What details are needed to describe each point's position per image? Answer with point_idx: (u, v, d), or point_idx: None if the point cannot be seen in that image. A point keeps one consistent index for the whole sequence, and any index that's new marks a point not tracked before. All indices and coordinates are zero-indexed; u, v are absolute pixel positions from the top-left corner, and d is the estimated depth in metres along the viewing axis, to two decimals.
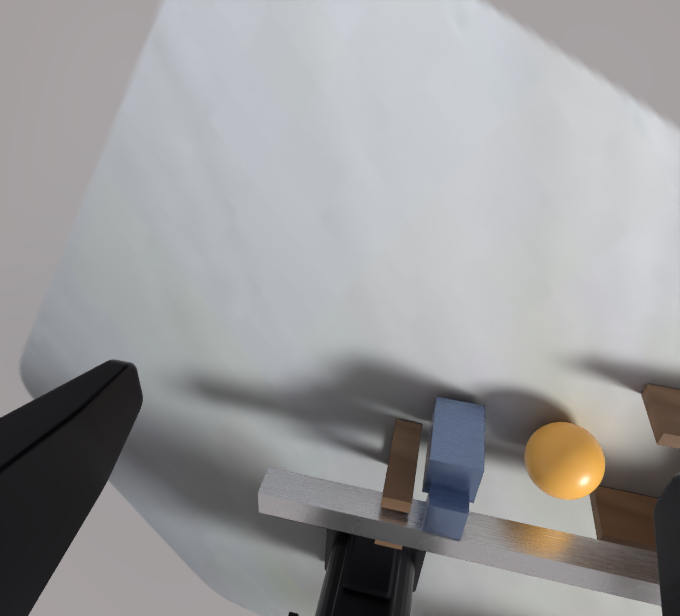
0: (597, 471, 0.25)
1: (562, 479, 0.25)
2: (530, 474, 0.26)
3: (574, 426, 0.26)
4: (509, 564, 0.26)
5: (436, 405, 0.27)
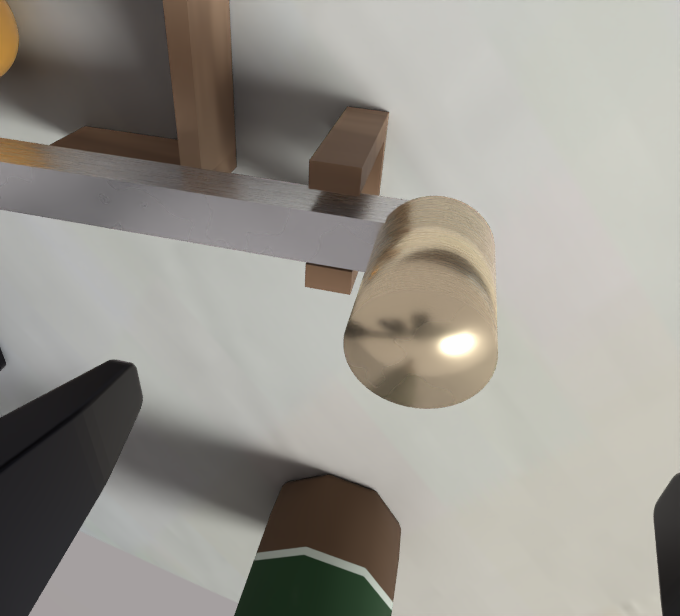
0: None
1: None
2: None
3: None
4: None
5: None
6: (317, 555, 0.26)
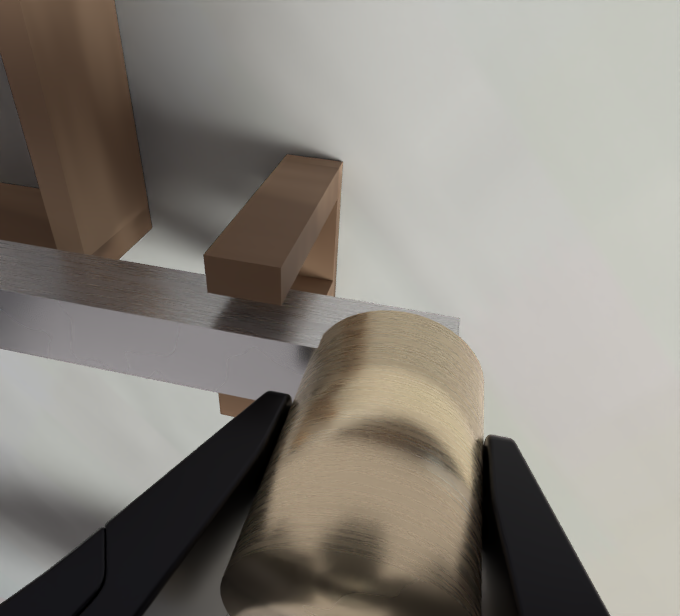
0: None
1: None
2: None
3: None
4: None
5: None
6: None
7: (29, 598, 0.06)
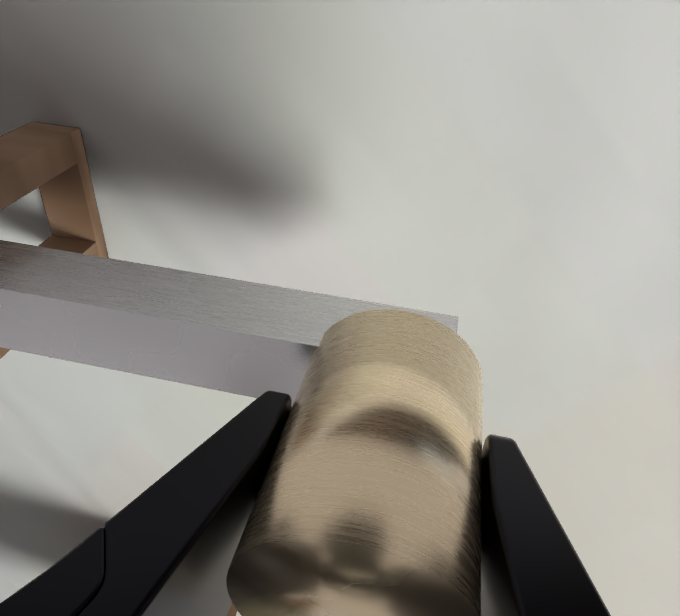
0: None
1: None
2: None
3: None
4: None
5: None
6: None
7: (29, 598, 0.06)
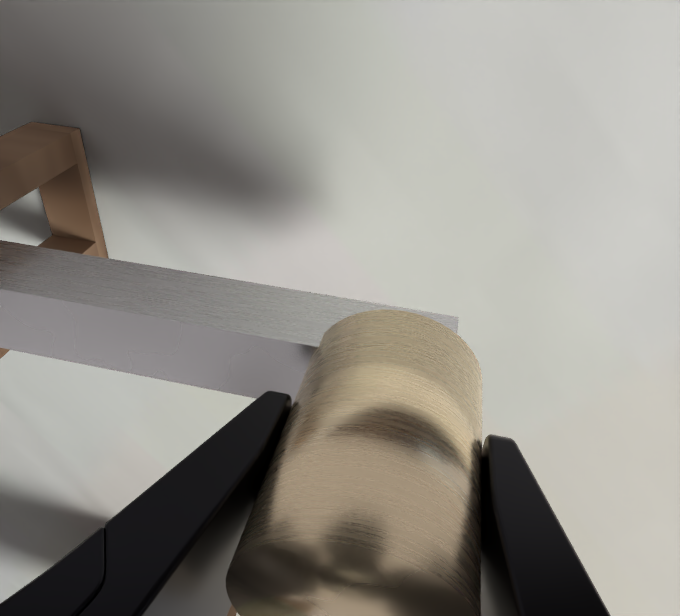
0: None
1: None
2: None
3: None
4: None
5: None
6: None
7: (29, 598, 0.06)
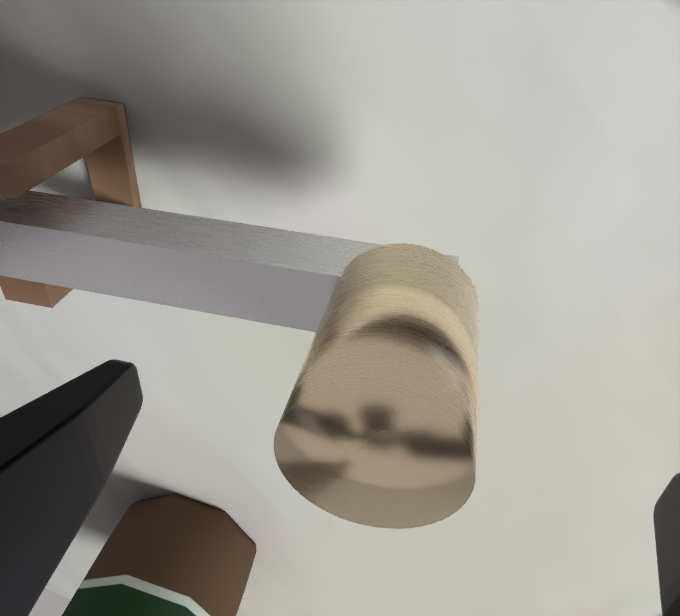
0: None
1: None
2: None
3: None
4: None
5: None
6: (137, 584, 0.24)
7: None
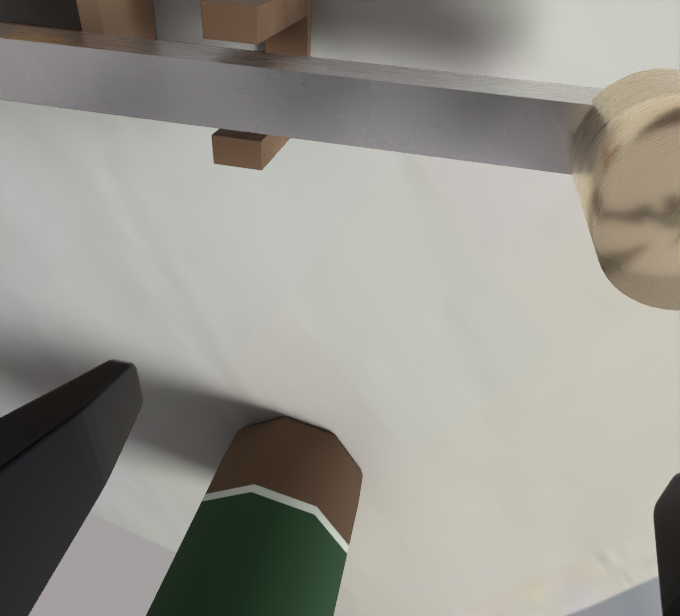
0: None
1: None
2: None
3: None
4: None
5: None
6: (266, 493, 0.25)
7: None
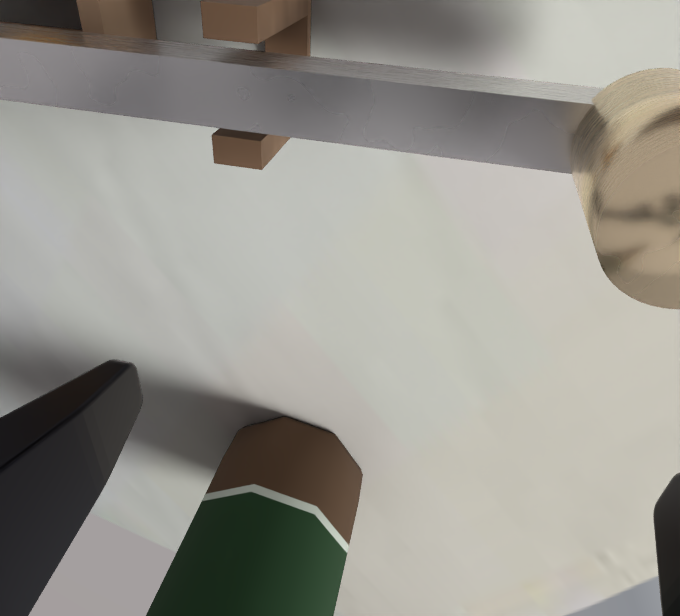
0: None
1: None
2: None
3: None
4: None
5: None
6: (266, 492, 0.25)
7: None
